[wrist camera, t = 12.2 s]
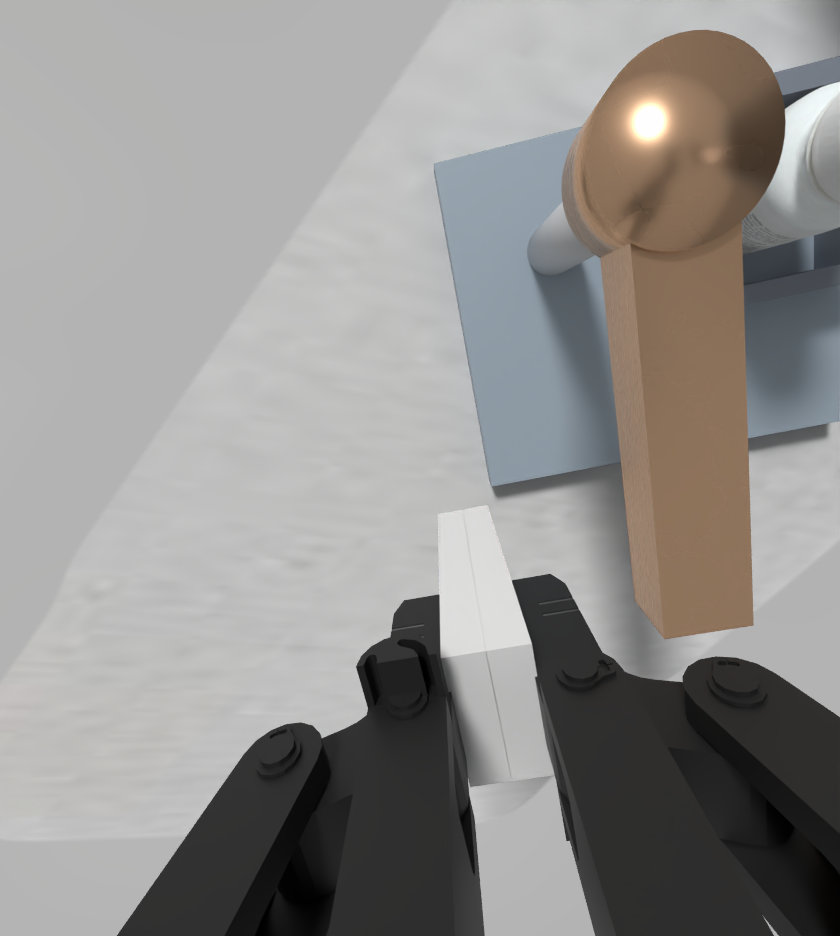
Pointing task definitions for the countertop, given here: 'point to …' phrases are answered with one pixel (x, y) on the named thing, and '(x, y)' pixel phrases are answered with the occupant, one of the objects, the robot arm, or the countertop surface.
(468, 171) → the board
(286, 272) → the countertop surface
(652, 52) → the lever
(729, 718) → the robot arm
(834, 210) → the pill bottle
